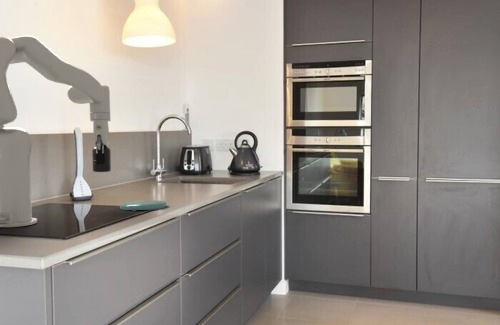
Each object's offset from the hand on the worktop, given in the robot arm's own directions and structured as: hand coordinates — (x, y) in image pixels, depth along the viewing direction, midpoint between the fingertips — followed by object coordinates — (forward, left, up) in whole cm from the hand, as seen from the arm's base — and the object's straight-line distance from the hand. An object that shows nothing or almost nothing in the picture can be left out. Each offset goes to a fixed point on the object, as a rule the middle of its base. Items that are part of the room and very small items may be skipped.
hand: (101, 163), depth 196 cm
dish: (+8, -13, -18) cm, 24 cm away
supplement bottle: (0, 0, -4) cm, 4 cm away
